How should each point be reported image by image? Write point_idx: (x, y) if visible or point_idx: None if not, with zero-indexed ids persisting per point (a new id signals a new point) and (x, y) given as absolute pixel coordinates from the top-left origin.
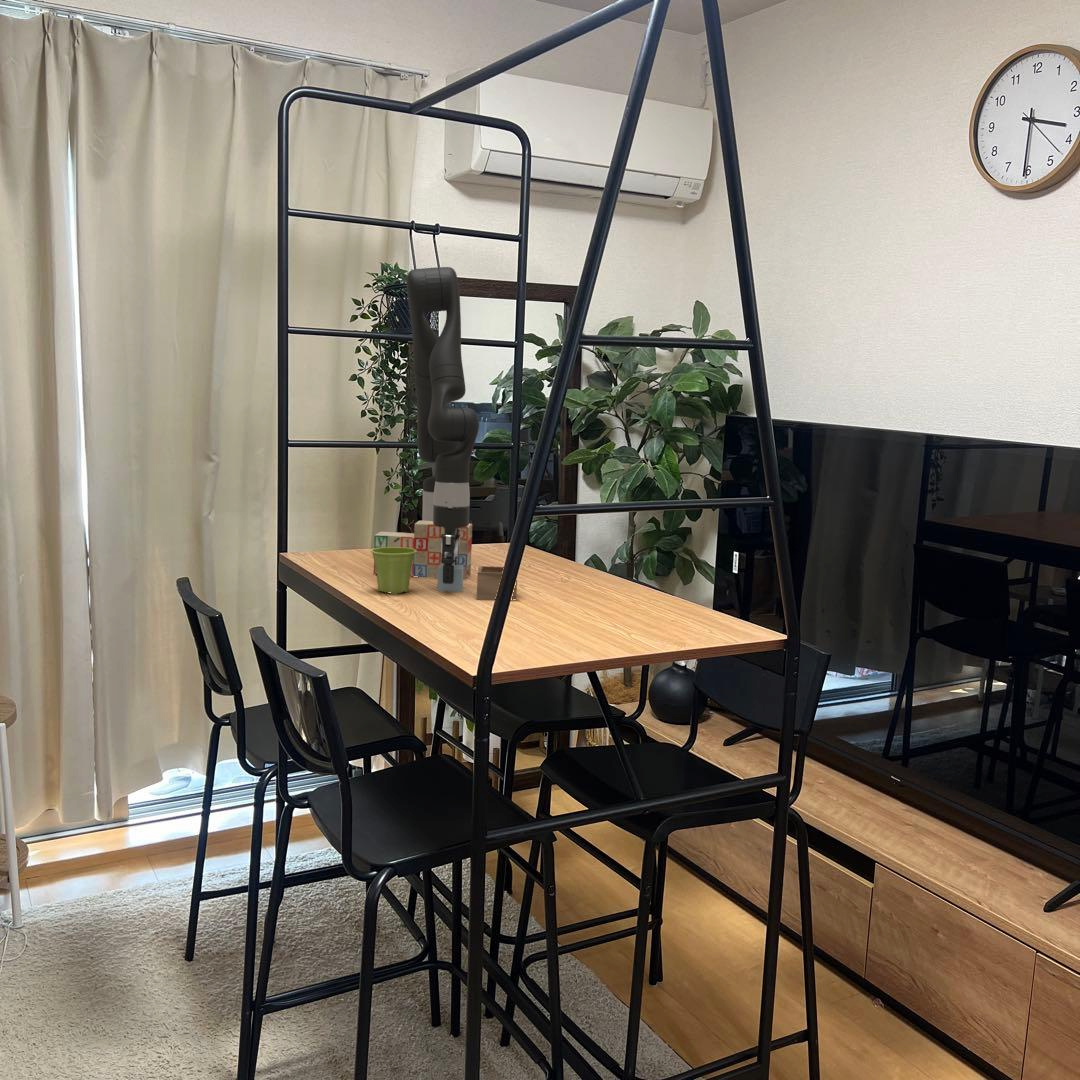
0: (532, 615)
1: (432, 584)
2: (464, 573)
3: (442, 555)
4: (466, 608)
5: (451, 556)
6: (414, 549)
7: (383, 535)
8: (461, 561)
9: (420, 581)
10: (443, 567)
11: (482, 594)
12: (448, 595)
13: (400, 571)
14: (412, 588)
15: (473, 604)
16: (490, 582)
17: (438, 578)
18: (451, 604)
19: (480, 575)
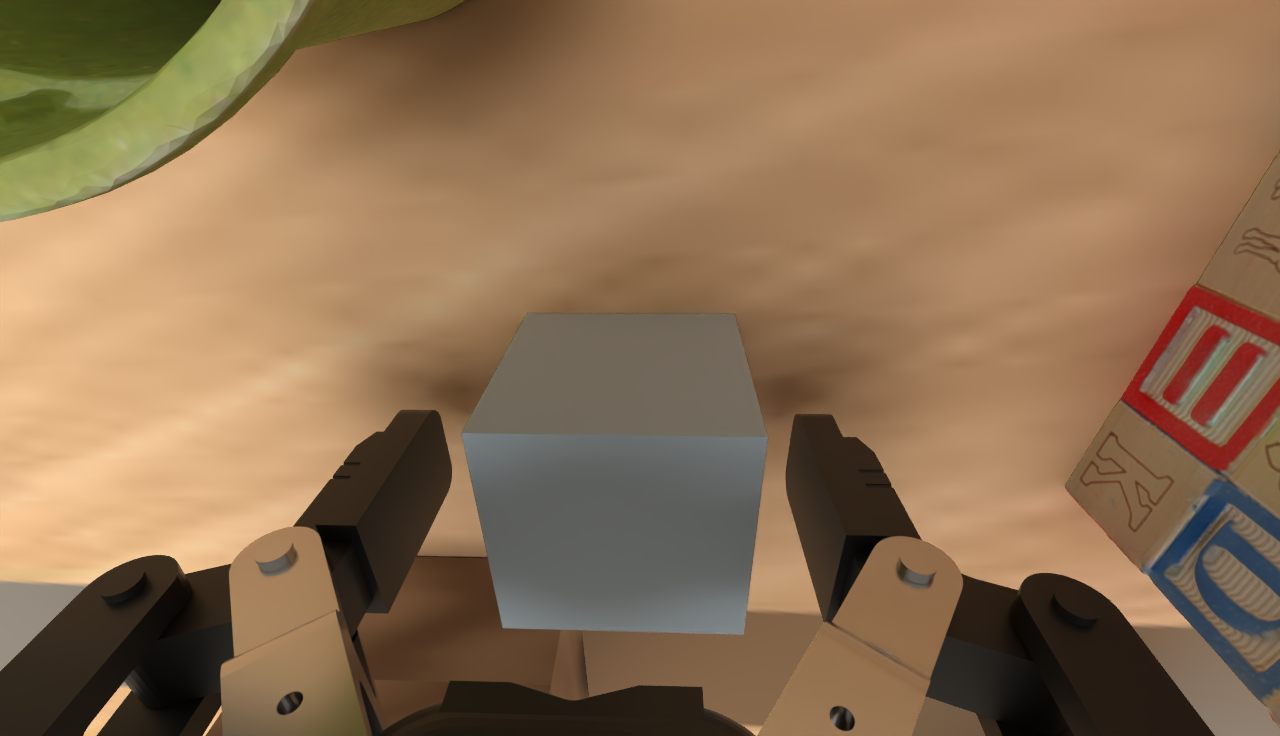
0: (102, 727)
1: (859, 242)
2: (1108, 513)
3: (9, 672)
4: (38, 512)
5: (375, 695)
6: (132, 130)
7: None
8: (1229, 580)
9: (1052, 93)
10: (325, 514)
11: None
12: (387, 400)
13: None
14: (611, 50)
15: (177, 541)
16: None
17: (498, 374)
18: (89, 433)
19: None
